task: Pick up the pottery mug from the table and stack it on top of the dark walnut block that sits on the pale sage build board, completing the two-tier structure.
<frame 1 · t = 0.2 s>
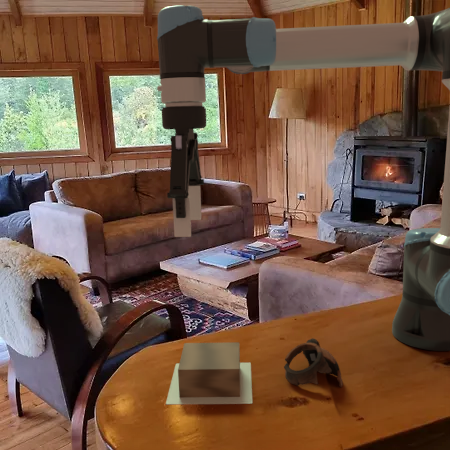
hand: (189, 227, 93), 27 cm above the table, tool pointing down, fingers open, 13 cm apart
pottery mug: (313, 381, 94), on the table
walnut block: (211, 381, 91), point 1 cm above the table, touching build board
build board: (211, 389, 91), on the table
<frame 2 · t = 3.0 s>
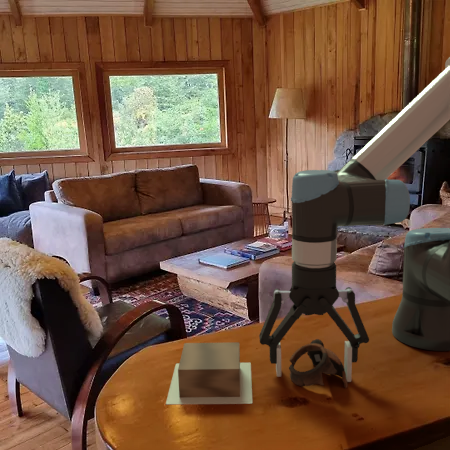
hand: (313, 378, 94), 0 cm above the table, tool pointing down, fingers open, 12 cm apart
pottery mug: (318, 382, 93), on the table, touching gripper
everything else where it was.
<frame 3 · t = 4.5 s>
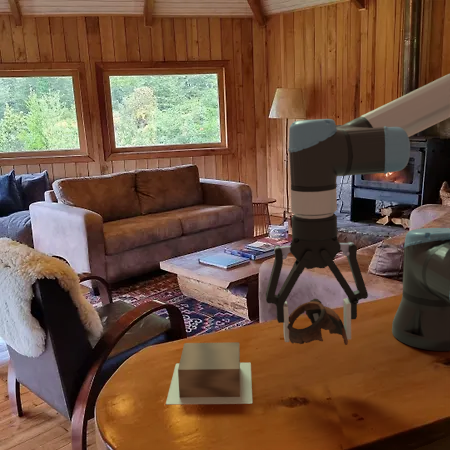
hand: (317, 337, 92), 8 cm above the table, tool pointing down, fingers closed on pottery mug, 10 cm apart
pottery mug: (318, 341, 92), point 8 cm above the table, touching gripper
everything else where it was.
when the fingers open (8 cm above the table, at t = 8.0 s): pottery mug stays where it is, resting on walnut block.
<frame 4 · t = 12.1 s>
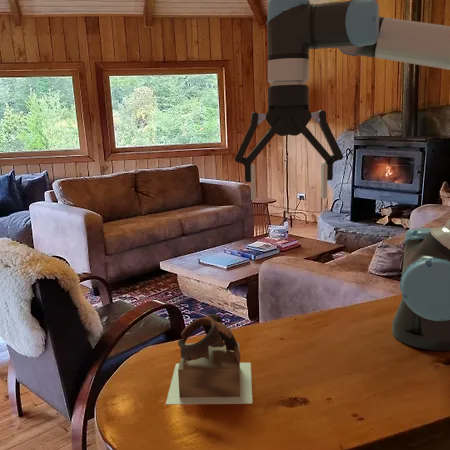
hand: (288, 198, 101), 31 cm above the table, tool pointing down, fingers open, 13 cm apart
pottery mug: (211, 358, 89), point 6 cm above the table, touching walnut block
walnut block: (211, 381, 91), point 1 cm above the table, touching build board, pottery mug
at the end: pottery mug 0.8 cm from the walnut block (horizontally); pottery mug point 6.3 cm above the table; pottery mug touching walnut block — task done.
